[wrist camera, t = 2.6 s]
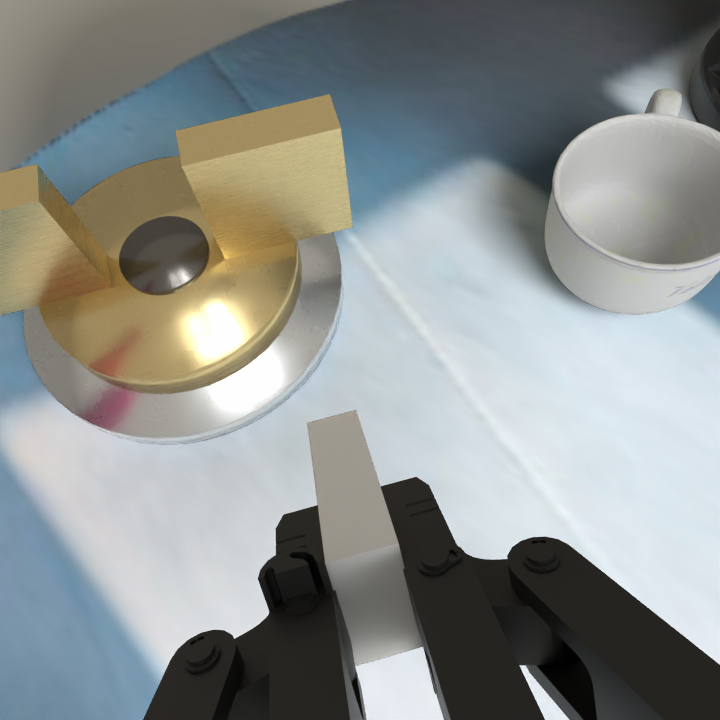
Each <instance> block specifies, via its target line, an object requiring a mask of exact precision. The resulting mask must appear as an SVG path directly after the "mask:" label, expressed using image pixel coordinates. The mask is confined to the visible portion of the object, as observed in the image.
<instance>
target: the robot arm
mask: <svg viewBox="0 0 720 720" xmlns="http://www.w3.org/2000/svg"><path fill="white" fill-rule="evenodd" d="M689 91H690V100H691V104H692V107H693V110H694V112H695V115H696V117H697V119H698V120H699V122H700V124H703V125H706V126H708V127H710V128H712V129H714V130H716V131H718V132H720V29H719V30H718V31H717V32H716V33H715V34H714V35H713V37H712V38H711V39H710V41H709V42H708V44H707V45H706V47H705V49H704V51H703V53H702V55H701V57H700V59H699V61H698V62H697V64H696V66H695V68H694V70H693V73H692V76H691V80H690V90H689ZM307 425H308V433H309V441H310V449H311V457H312V465H313V472H314V480H315V488H316V496H317V504H318V505H317V506H314V507H310V508H306V509H303V510H299V511H295V512H292V513H288V514H284V515H283V517H282V519H281V520H280V522H279V524H278V526H277V528H276V555H275V556H274V557H273V558H271V559H270V560H268V561H267V562H266V564H265V565H264V566H263V567H262V569H261V570H260V573H259V577H258V580H259V583H260V586H261V589H262V592H263V594H264V597H265V600H266V603H267V606H268V608H269V615H268V616H267V617H266V618H265V619H264V620H263V621H262V622H261V623H260V624H259V625H257V626H256V627H254V628H253V629H251V630H250V631H248V632H246V633H245V634H243V635H241V636H239V637H237V638H235V639H234V638H233V635H231V634H229V633H228V632H226V631H223V630H211V631H207V632H203V633H200V634H198V635H196V636H194V637H193V638H191V639H189V640H188V641H187V642H185V643H184V644H183V645H182V646H181V647H180V648H179V649H178V650H177V651H176V653H175V654H174V656H173V657H172V659H171V660H170V663H169V665H168V667H167V669H166V671H165V673H164V676H163V678H162V680H161V682H160V684H159V686H158V689H157V691H156V693H155V695H154V697H153V699H152V702H151V704H150V706H149V708H148V710H147V712H146V715H145V717H144V719H143V720H366V714H365V708H364V702H363V696H362V690H361V685H360V682H359V679H358V675H357V672H356V669H355V664H356V666H357V665H361V664H364V663H368V662H371V661H375V660H378V659H381V658H385V657H388V656H392V655H395V654H399V653H402V652H406V651H409V650H413V649H416V648H419V647H424V651H425V655H426V659H427V663H428V668H429V672H430V676H431V680H432V684H433V688H434V692H435V694H437V698H438V701H439V704H440V708H441V711H442V714H443V718H444V720H545V719H544V717H543V715H542V713H541V710H540V708H539V706H538V704H537V702H536V700H535V698H534V696H533V694H532V692H531V689H530V687H529V685H528V683H527V681H526V679H525V677H524V675H523V673H522V670H521V668H520V666H519V665H526V667H527V668H528V670H529V672H530V674H531V675H532V676H533V677H534V678H535V679H536V681H537V682H538V683H539V684H540V685H541V686H542V688H543V689H544V690H545V691H546V692H547V694H548V695H549V696H550V697H551V698H552V699H553V701H554V702H555V703H556V704H557V705H558V707H559V708H560V709H561V710H562V711H563V712H564V714H565V715H566V716H567V717H568V718H569V719H570V720H720V665H719V664H718V663H717V662H715V661H714V660H713V659H712V658H710V657H709V656H708V655H707V654H705V653H704V652H703V651H702V650H700V649H699V648H698V647H697V646H695V645H694V644H693V643H692V642H690V641H689V640H688V639H686V638H685V637H684V636H683V635H681V634H680V633H679V632H678V631H676V630H675V629H674V628H673V627H671V626H670V625H669V624H668V623H666V622H665V621H664V620H663V619H661V618H660V617H659V616H658V615H656V614H655V613H654V612H652V611H651V610H650V609H649V608H647V607H646V606H645V605H644V604H642V603H641V602H640V601H639V600H637V599H636V598H635V597H634V596H632V595H631V594H630V593H629V592H627V591H626V590H625V589H624V588H622V587H621V586H620V585H618V584H617V583H616V582H615V581H613V580H612V579H611V578H610V577H608V576H607V575H606V574H605V573H603V572H602V571H601V570H600V569H598V568H597V567H596V566H595V565H593V564H592V563H591V562H589V561H588V560H587V559H586V558H584V557H583V556H582V555H581V554H579V553H578V552H577V551H576V550H574V549H573V548H572V547H571V546H569V545H568V544H566V543H564V542H562V541H560V540H559V539H554V538H549V537H532V538H529V539H526V540H523V541H520V542H519V543H518V544H516V545H515V546H513V547H512V549H511V550H510V552H509V554H508V555H507V556H508V559H502V560H485V559H479V558H474V557H472V556H470V555H467V554H466V553H465V552H464V551H463V550H462V549H461V548H460V547H458V546H457V544H456V543H455V540H454V538H453V536H452V534H451V532H450V530H449V527H448V525H447V523H446V521H445V519H444V517H443V515H442V512H441V510H440V509H439V506H438V504H437V502H436V500H435V498H434V495H433V493H432V491H431V489H430V487H429V485H428V484H426V483H425V482H423V481H422V480H420V479H419V478H417V477H414V478H410V479H407V480H403V481H399V482H396V483H392V484H388V485H385V486H381V487H380V484H379V481H378V478H377V474H376V471H375V468H374V465H373V462H372V459H371V456H370V453H369V449H368V446H367V443H366V440H365V437H364V434H363V431H362V428H361V425H360V421H359V418H358V415H357V412H356V410H354V411H350V412H346V413H342V414H339V415H335V416H331V417H327V418H324V419H320V420H316V421H312V422H309V423H307ZM354 660H355V662H354Z"/></svg>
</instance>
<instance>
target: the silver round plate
mask: <svg viewBox="0 0 720 720" xmlns="http://www.w3.org/2000/svg"><path fill="white" fill-rule="evenodd" d="M297 242H298V246H299V250H300V255H301V262H302V281H301V286H300V292H299V296H298V299H297V302H296V305H295V308H294V310H293V312H292V314H291V316H290V318H289V321H288V322H287V324H286V325H285V327H284V328H283V330H282V332H281V333H280V335H279V336H278V337H277V338H276V339H275V341H274V342H273V343H272V344H271V345H270V346H269V348H268V349H267V350H265V351H264V352H263V353H262V354H261V355H260V356H259V357H258V358H257V359H256V360H254V361H253V362H252V363H250V364H249V365H247V366H246V367H245V368H243V369H242V370H240V371H239V372H237V373H235V374H233V375H231V376H230V377H228V378H226V379H224V380H221V381H219V382H217V383H214V384H212V385H210V386H206V387H203V388H199V389H196V390H192V391H187V392H181V393H175V394H148V393H139V392H134V391H130V390H125V389H122V388H119V387H117V386H114V385H111V384H109V383H107V382H105V381H104V380H102V379H100V378H98V377H96V376H95V375H94V374H92V373H91V372H90V371H89V370H87V369H86V368H85V367H84V366H82V365H81V364H80V363H79V362H78V361H76V360H75V359H74V358H73V357H72V356H71V355H69V354H68V353H67V352H66V351H65V350H64V349H63V348H62V347H61V346H60V345H59V344H58V343H57V342H56V341H55V340H54V338H53V337H52V335H51V334H50V332H49V331H48V329H47V328H46V326H45V323H44V321H43V319H42V316H41V314H40V310H39V306H36V307H32V308H28V309H24V313H23V325H24V338H25V342H26V347H27V351H28V355H29V357H30V360H31V362H32V365H33V367H34V370H35V372H36V373H37V375H38V376H39V378H40V380H41V381H42V383H43V384H44V386H45V387H46V388H47V389H48V391H49V392H50V393H51V394H52V395H53V396H54V397H55V399H56V400H57V401H58V402H60V403H61V404H62V405H63V406H65V407H66V408H67V409H68V410H70V411H71V412H72V413H73V414H75V415H76V416H78V417H79V418H81V419H82V420H84V421H85V422H87V423H89V424H91V425H92V426H94V427H96V428H98V429H99V430H101V431H104V432H106V433H109V434H111V435H114V436H116V437H119V438H123V439H127V440H131V441H136V442H140V443H150V444H161V445H163V444H185V443H191V442H197V441H203V440H208V439H211V438H215V437H218V436H222V435H225V434H228V433H231V432H233V431H235V430H238V429H240V428H242V427H245V426H247V425H249V424H251V423H253V422H255V421H256V420H258V419H260V418H262V417H263V416H265V415H267V414H268V413H270V412H271V411H273V410H274V409H275V408H277V407H278V406H279V405H281V404H282V403H283V402H285V401H286V400H287V399H288V398H289V397H290V396H291V395H292V394H294V393H295V392H296V391H297V390H298V389H299V388H300V387H301V386H302V385H303V384H304V383H305V381H306V380H307V379H308V378H309V376H310V375H311V374H312V373H313V372H314V370H315V369H316V368H317V366H318V365H319V363H320V361H321V360H322V358H323V357H324V355H325V353H326V352H327V350H328V348H329V346H330V343H331V341H332V339H333V337H334V334H335V332H336V329H337V325H338V322H339V318H340V315H341V309H342V302H343V274H342V268H341V262H340V256H339V250H338V246H337V243H336V240H335V237H334V234H333V232H331V233H327V234H323V235H319V236H315V237H311V238H307V239H303V240H299V241H297Z"/></svg>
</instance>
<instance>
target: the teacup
mask: <svg viewBox="0 0 720 720" xmlns="http://www.w3.org/2000/svg"><path fill="white" fill-rule="evenodd" d="M681 102H682V96H681V94H680V93H679V92H678V91H676V90H672V89H659V90H657V91H656V92H654V94H653V95H652V97H651V99H650V101H649V103H648V106H647V108H646V111H645V114H635V115H625V116H619V117H614V118H611V119H608V120H605V121H602V122H600V123H598V124H595V125H593V126H591V127H590V128H588V129H586V130H585V131H583V132H582V133H580V134H579V135H578V136H576V137H575V138H574V139H573V140H572V141H571V142H570V143H569V145H568V146H567V147H566V148H565V150H564V151H563V152H562V154H561V155H560V157H559V159H558V162H557V164H556V166H555V169H554V173H553V178H552V192H551V196H550V200H549V205H548V211H547V216H546V223H545V248H546V252H547V256H548V259H549V262H550V264H551V267H552V269H553V271H554V272H555V274H556V275H557V277H558V278H559V280H560V281H561V282H562V283H563V285H565V286H566V287H567V288H568V289H569V290H570V291H571V292H572V293H573V294H575V295H576V296H577V297H579V298H580V299H582V300H583V301H585V302H587V303H589V304H591V305H593V306H595V307H598V308H600V309H603V310H606V311H610V312H615V313H620V314H632V315H639V314H651V313H656V312H660V311H664V310H667V309H670V308H672V307H675V306H677V305H679V304H681V303H683V302H685V301H687V300H688V299H690V298H691V297H693V296H694V295H695V294H697V293H698V292H699V291H700V290H701V289H703V288H704V287H705V286H706V285H707V284H708V283H709V282H710V281H711V280H712V278H713V277H714V276H715V275H716V274H717V273H718V272H719V271H720V132H718V131H716V130H714V129H712V128H710V127H708V126H706V125H703V124H700V123H697V122H694V121H691V120H688V119H685V118H682V117H678V116H679V112H680V108H681Z"/></svg>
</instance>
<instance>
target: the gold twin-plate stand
mask: <svg viewBox="0 0 720 720" xmlns="http://www.w3.org/2000/svg"><path fill="white" fill-rule="evenodd" d="M176 137H177V142H178V148H179V154H180V156H177V157H168V158H161V159H156V160H152V161H148V162H144V163H140V164H138V165H135V166H132V167H130V168H127V169H125V170H122V171H120V172H118V173H116V174H114V175H112V176H110V177H109V178H107V179H105V180H104V181H102V182H100V183H99V184H97V185H96V186H94V187H93V188H92V189H90V190H89V191H88V192H86V193H85V194H84V195H83V196H82V197H81V198H79V199H78V200H77V201H76V202H75V203H74V204H73V205H72V206H71V207H70V206H69V204H68V203H67V202H66V200H65V199H64V198H63V197H62V195H61V194H60V193H59V191H58V190H57V189H56V188H55V186H54V185H53V184H52V182H51V181H50V180H49V178H48V177H47V176H46V175H45V173H44V172H43V171H42V169H41V168H40V167H39V166H38V164H35V165H31V166H27V167H23V168H19V169H15V170H10V171H6V172H2V173H0V315H4V314H8V313H12V312H16V311H20V310H24V309H28V308H32V307H36V306H39V310H40V314H41V316H42V319H43V321H44V323H45V326H46V328H47V329H48V331H49V332H50V334H51V335H52V337H53V338H54V340H55V341H56V342H57V343H58V344H59V345H60V346H61V347H62V348H63V349H64V350H65V351H66V352H67V353H68V354H69V355H71V356H72V357H73V358H74V359H75V360H76V361H78V362H79V363H80V364H81V365H82V366H84V367H85V368H86V369H87V370H89V371H90V372H91V373H92V374H94V375H95V376H96V377H98V378H100V379H102V380H104V381H105V382H107V383H109V384H111V385H114V386H117V387H119V388H122V389H125V390H130V391H134V392H139V393H148V394H175V393H181V392H187V391H192V390H196V389H199V388H203V387H206V386H210V385H212V384H214V383H217V382H219V381H221V380H224V379H226V378H228V377H230V376H231V375H233V374H235V373H237V372H239V371H240V370H242V369H243V368H245V367H246V366H247V365H249V364H250V363H252V362H253V361H254V360H256V359H257V358H258V357H259V356H260V355H261V354H262V353H263V352H264V351H265V350H267V349H268V348H269V346H270V345H271V344H272V343H273V342H274V341H275V339H276V338H277V337H278V336H279V335H280V333H281V332H282V330H283V328H284V327H285V325H286V324H287V322H288V321H289V318H290V316H291V314H292V312H293V310H294V308H295V305H296V302H297V299H298V296H299V292H300V286H301V281H302V262H301V255H300V250H299V246H298V242H297V241H299V240H303V239H307V238H311V237H315V236H319V235H323V234H327V233H331V232H335V231H339V230H343V229H347V228H351V227H353V225H352V217H351V208H350V200H349V192H348V183H347V175H346V167H345V158H344V150H343V142H342V133H341V127H340V124H339V121H338V118H337V115H336V112H335V109H334V106H333V102H332V99H331V96H330V94H328V95H324V96H320V97H316V98H311V99H307V100H303V101H299V102H295V103H290V104H286V105H282V106H278V107H274V108H269V109H265V110H261V111H257V112H253V113H248V114H244V115H240V116H236V117H232V118H228V119H223V120H219V121H215V122H211V123H207V124H202V125H198V126H194V127H190V128H186V129H181V130H177V131H176Z"/></svg>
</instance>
